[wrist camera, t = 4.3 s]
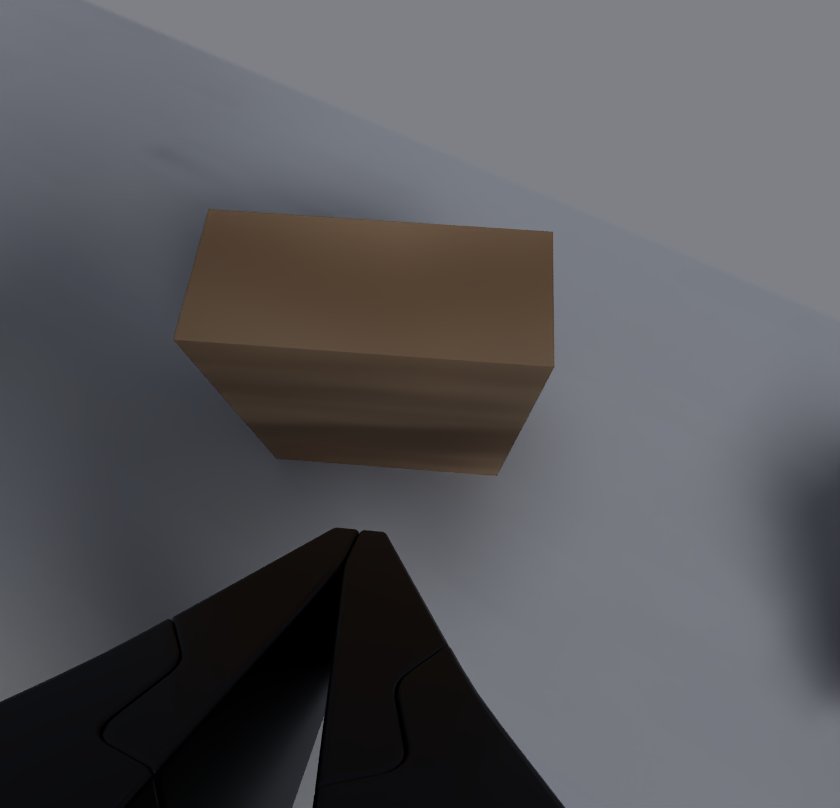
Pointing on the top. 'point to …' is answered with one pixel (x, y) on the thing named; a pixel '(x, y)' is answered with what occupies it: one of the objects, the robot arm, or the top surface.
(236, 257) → the walnut block
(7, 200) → the top surface
